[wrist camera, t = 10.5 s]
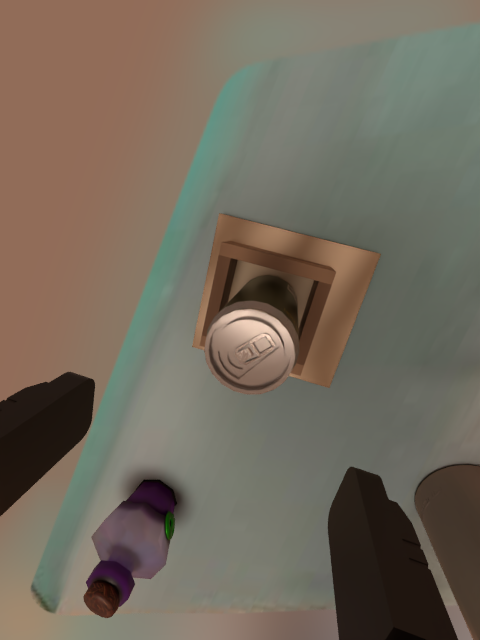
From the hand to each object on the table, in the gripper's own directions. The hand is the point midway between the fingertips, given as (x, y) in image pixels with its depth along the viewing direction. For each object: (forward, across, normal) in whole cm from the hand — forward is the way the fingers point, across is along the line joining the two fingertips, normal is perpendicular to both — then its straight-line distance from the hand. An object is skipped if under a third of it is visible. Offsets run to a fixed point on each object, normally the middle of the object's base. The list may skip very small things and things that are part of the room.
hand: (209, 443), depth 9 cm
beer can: (+20, 0, 0) cm, 20 cm away
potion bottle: (+21, +7, +29) cm, 36 cm away
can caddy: (+20, 0, 0) cm, 21 cm away
